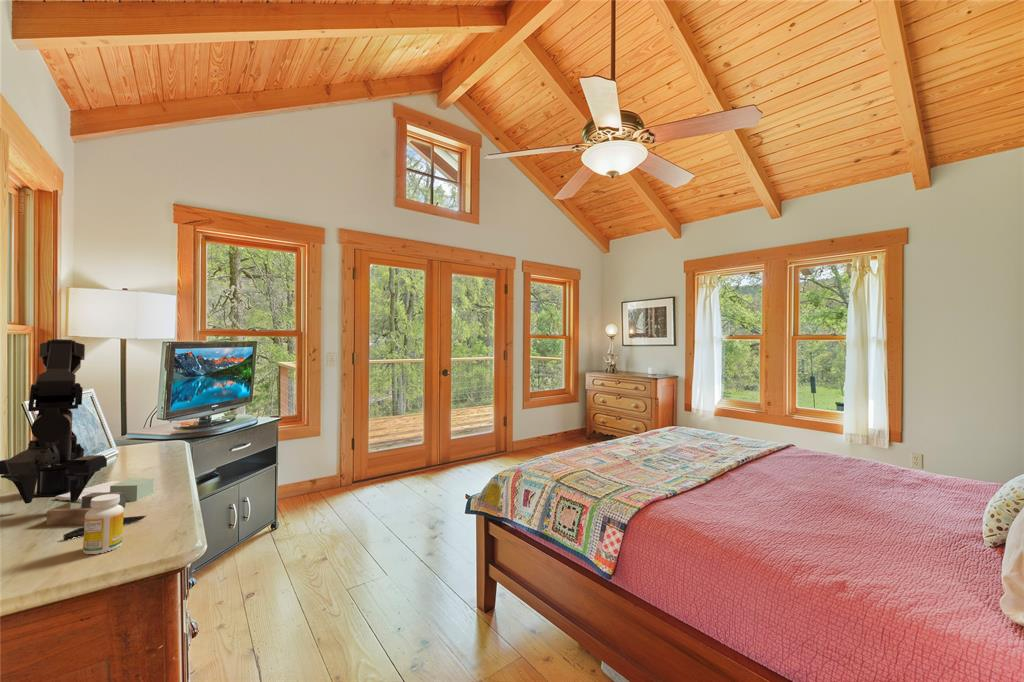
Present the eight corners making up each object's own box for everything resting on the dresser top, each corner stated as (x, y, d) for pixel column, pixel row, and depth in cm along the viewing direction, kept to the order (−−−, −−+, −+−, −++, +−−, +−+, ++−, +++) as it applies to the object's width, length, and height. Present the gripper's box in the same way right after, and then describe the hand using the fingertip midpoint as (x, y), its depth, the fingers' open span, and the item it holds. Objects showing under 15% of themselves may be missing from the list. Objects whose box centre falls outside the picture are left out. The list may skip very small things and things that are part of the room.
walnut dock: (46, 525, 91) (47, 511, 91) (67, 516, 96) (68, 502, 96) (96, 523, 93) (97, 509, 93) (115, 514, 98) (115, 501, 98)
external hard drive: (134, 489, 117) (80, 504, 105) (110, 486, 119) (54, 502, 106) (135, 483, 117) (81, 498, 105) (110, 480, 119) (54, 495, 107)
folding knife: (146, 519, 96) (146, 510, 96) (148, 520, 95) (148, 511, 95) (63, 541, 85) (63, 530, 85) (64, 542, 84) (64, 531, 84)
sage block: (109, 502, 106) (110, 485, 106) (127, 494, 112) (128, 478, 112) (136, 501, 107) (137, 485, 107) (153, 493, 113) (154, 478, 113)
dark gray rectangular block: (81, 512, 98) (81, 496, 98) (92, 507, 101) (92, 492, 101) (115, 511, 99) (116, 496, 99) (125, 506, 102) (125, 491, 102)
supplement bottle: (84, 558, 78) (87, 504, 78) (81, 549, 81) (83, 497, 81) (124, 548, 82) (126, 497, 82) (119, 539, 85) (121, 490, 85)
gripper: (-33, 441, 90) (-36, 517, 90) (68, 440, 92) (65, 514, 92) (20, 431, 101) (18, 499, 101) (109, 430, 103) (107, 497, 103)
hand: (51, 502), depth 99 cm, fingers open, 9 cm apart
